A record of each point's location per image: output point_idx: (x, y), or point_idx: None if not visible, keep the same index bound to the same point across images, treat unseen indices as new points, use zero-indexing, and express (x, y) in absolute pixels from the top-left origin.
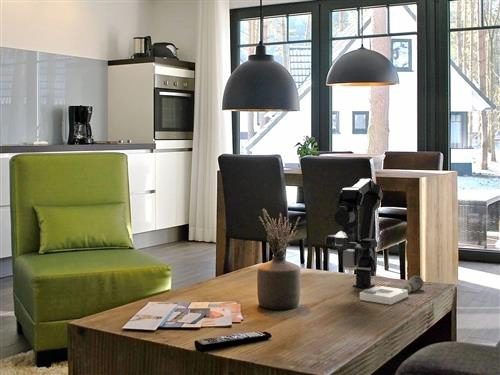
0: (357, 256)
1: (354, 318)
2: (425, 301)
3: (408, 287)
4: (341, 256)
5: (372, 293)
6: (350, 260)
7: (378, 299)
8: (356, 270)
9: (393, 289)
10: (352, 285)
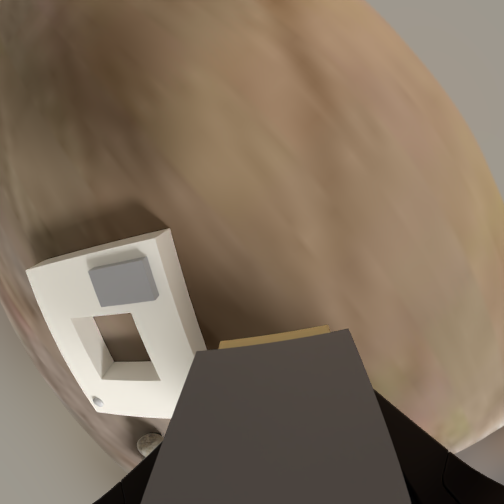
0: (107, 492)
1: (33, 16)
2: (46, 370)
3: (138, 445)
4: (439, 443)
5: (95, 267)
6: (214, 425)
7: (74, 253)
8: None
9: (123, 397)
10: None
